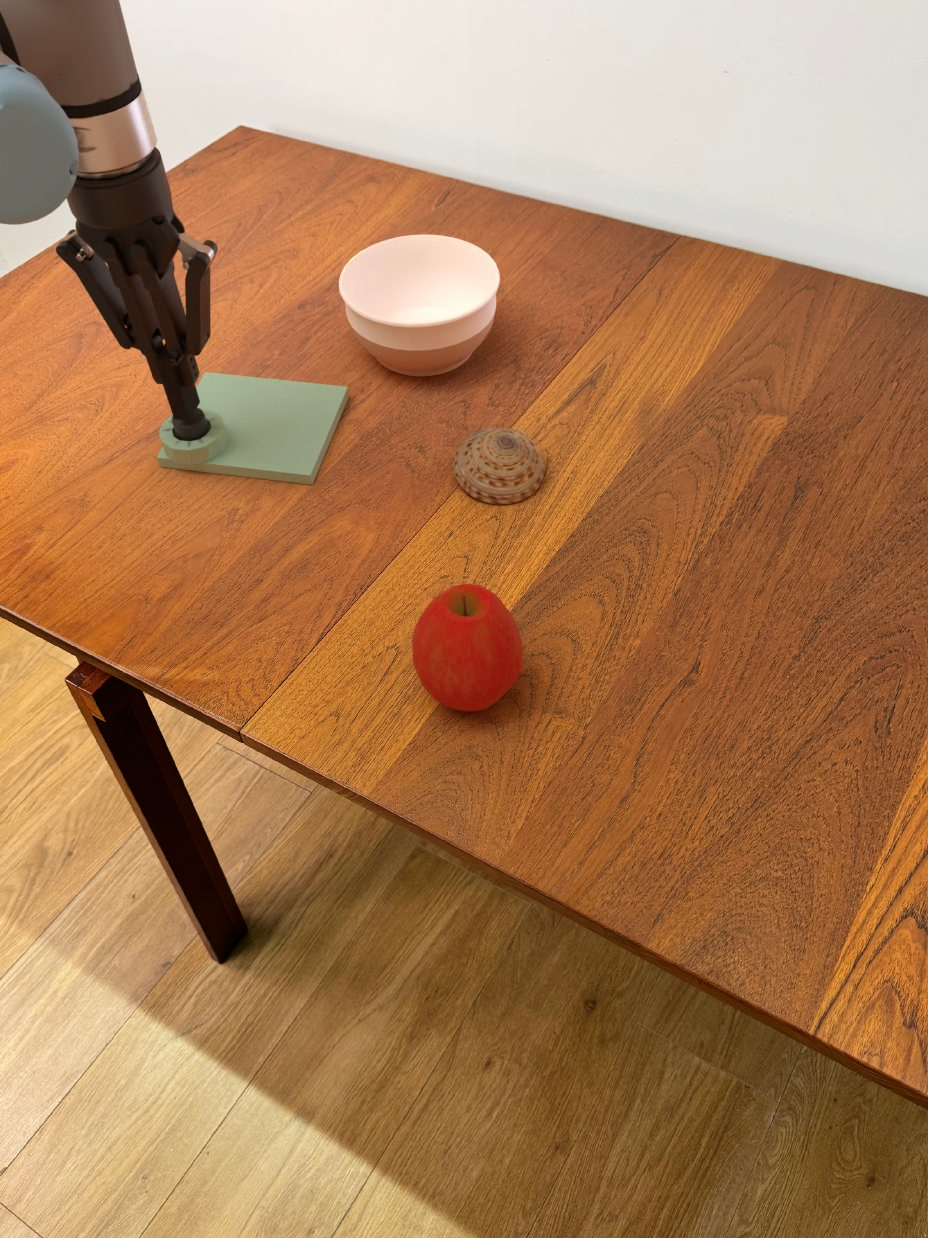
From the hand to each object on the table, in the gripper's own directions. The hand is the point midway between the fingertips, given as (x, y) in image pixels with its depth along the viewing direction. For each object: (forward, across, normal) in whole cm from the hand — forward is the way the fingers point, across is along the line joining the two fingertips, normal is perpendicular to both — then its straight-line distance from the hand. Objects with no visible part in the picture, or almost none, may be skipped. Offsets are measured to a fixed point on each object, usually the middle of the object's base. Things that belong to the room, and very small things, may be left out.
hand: (187, 410), depth 91 cm
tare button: (+2, 0, 0) cm, 2 cm away
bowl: (+5, +17, +20) cm, 27 cm away
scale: (+5, +4, +4) cm, 8 cm away
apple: (+5, +30, -22) cm, 38 cm away
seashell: (+5, +28, +2) cm, 29 cm away
